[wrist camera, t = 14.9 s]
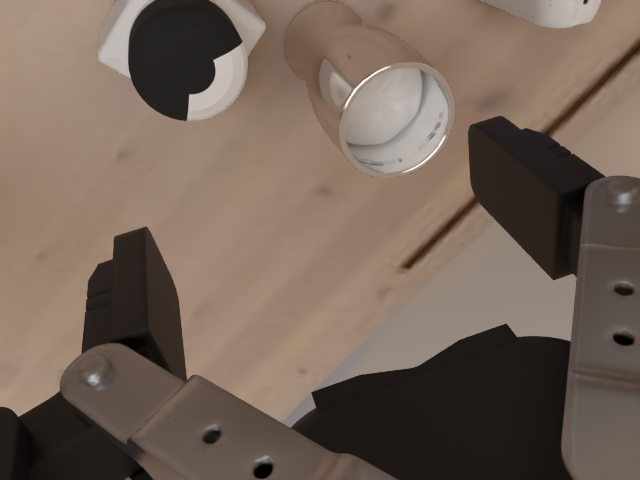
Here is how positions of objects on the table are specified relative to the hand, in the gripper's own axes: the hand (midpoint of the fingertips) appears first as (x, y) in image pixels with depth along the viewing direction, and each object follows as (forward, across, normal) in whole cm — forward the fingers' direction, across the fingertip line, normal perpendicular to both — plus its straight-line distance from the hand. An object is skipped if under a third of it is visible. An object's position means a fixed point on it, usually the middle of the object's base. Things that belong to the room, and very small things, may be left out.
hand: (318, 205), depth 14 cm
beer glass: (+30, -7, +7) cm, 32 cm away
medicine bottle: (+30, +2, +2) cm, 30 cm away
